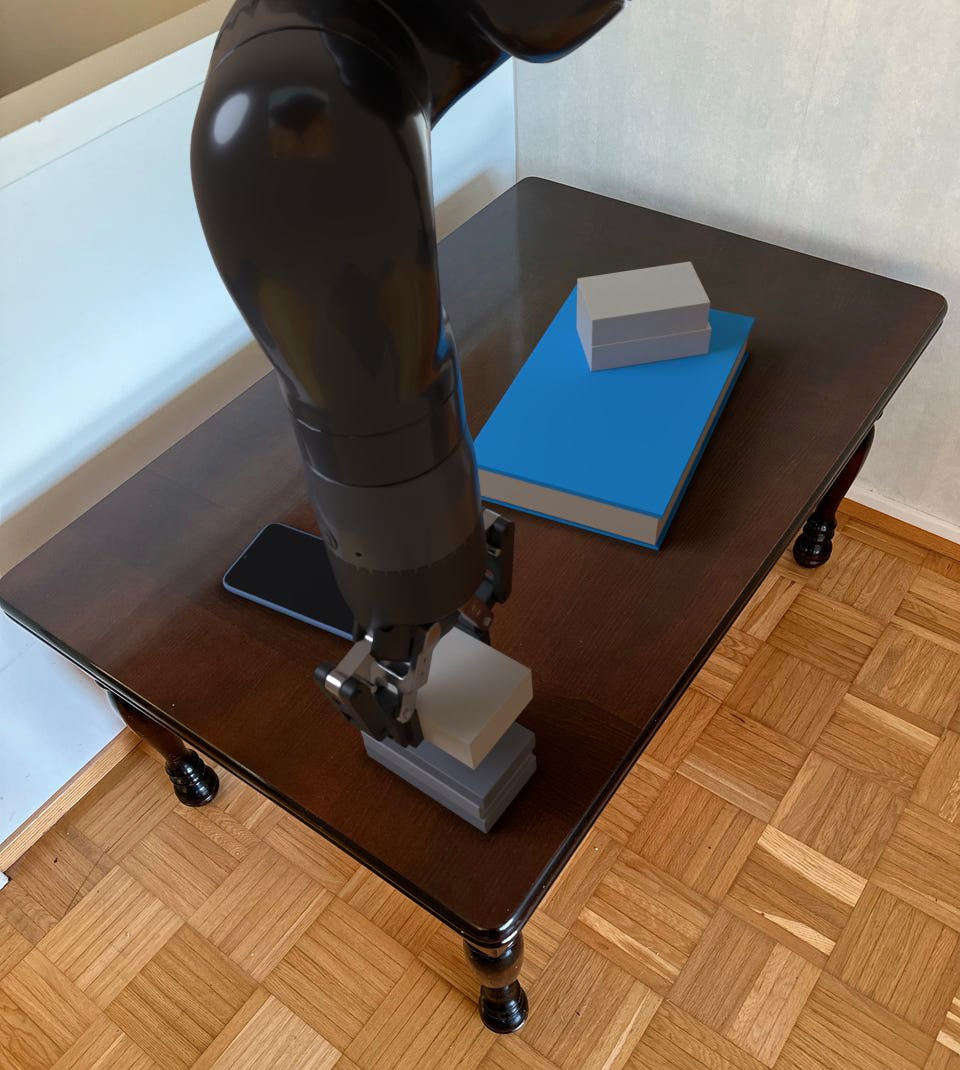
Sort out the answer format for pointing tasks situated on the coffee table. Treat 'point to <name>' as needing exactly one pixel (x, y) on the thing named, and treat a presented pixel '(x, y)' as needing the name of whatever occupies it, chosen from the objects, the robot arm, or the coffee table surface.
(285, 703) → the coffee table surface
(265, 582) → the smartphone
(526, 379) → the book
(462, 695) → the light grey block
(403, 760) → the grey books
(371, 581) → the robot arm
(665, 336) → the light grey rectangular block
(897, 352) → the coffee table surface
